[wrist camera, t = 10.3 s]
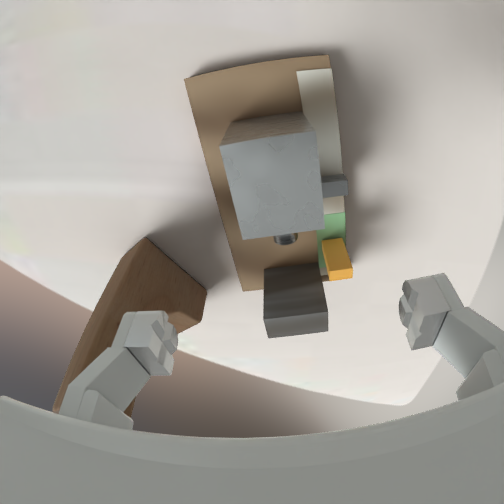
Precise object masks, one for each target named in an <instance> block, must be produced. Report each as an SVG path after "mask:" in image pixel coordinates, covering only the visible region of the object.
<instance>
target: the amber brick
mask: <svg viewBox="0 0 504 504" xmlns="http://www.w3.org/2000/svg"><path fill="white" fill-rule="evenodd" d="M322 251H323V255H324V259H325V263H326V267H327V272H328V276H329V280H330V281H335V280H342V279H349V278H352V275H353V267H352V264H351V262H350V259H349V256H348V253H347V250H346V247H345V244H344V242H343V239H342V238H337V239H329V240H322Z"/></svg>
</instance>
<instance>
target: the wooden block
mask: <svg viewBox="0 0 504 504" xmlns="http://www.w3.org/2000/svg"><path fill="white" fill-rule="evenodd" d="M206 295H207V291H206V289H205V288H203V287H202V286H201V285H200V284H199V283H197V282H196V281H195V280H194V279H193V278H192V277H190V276H189V275H188V274H187V273H186V272H185V271H183V270H182V269H181V268H180V267H179V266H178V265H177V264H175V263H174V262H173V261H172V260H171V259H170V258H169V257H167V256H166V255H165V254H164V253H163V252H162V251H161V250H160V249H158V248H157V247H156V246H155V245H154V244H153V243H152V242H151V241H150V240H148V239H147V238H144V239H142V240H141V241H140V242H138V243H137V244H136V245H135V246H134V247H133V248H132V249H131V250H130V251H128V252H127V253H126V254H125V255H124V256H123V257H122V258H121V260H120V262H119V264H118V265H117V267H116V269H115V271H114V273H113V275H112V277H111V278H110V280H109V282H108V284H107V286H106V288H105V290H104V292H103V294H102V296H101V298H100V299H99V301H98V303H97V305H96V307H95V309H94V311H93V313H92V316H91V318H90V320H89V322H88V324H87V326H86V328H85V330H84V332H83V335H82V337H81V339H80V341H79V343H78V346H77V348H76V350H75V352H74V355H73V357H72V359H71V362H70V364H69V366H68V369H67V371H66V374H65V376H64V379H63V381H62V384H61V386H60V389H59V392H58V394H57V397H56V400H55V402H54V405H53V412H54V413H57V414H59V411H60V408H61V405H62V402H63V399H64V396H65V393H66V390H67V388H68V385H69V384H70V383H71V382H72V381H73V380H74V379H75V378H76V377H77V376H78V375H79V374H80V373H82V372H83V371H84V370H85V369H86V368H87V367H88V366H89V365H90V364H91V363H92V362H93V361H94V360H95V359H96V358H97V357H98V356H99V355H100V354H101V353H103V352H104V351H105V350H106V349H107V348H108V347H111V346H112V344H113V341H114V338H115V336H116V333H117V330H118V328H119V325H120V323H121V320H122V318H123V315H124V314H125V313H126V312H138V311H165V312H166V314H167V315H168V317H169V318H168V322H169V323H171V324H172V325H174V327H175V329H176V331H177V334H178V333H180V332H182V331H184V330H186V329H188V328H190V327H192V326H194V325H196V324H198V323H200V322H201V320H202V316H203V310H204V305H205V300H206ZM135 398H136V396H135ZM135 398H134V399H133V400H132V402H131V403H130V404H129V406H128V407H127V408H126V409H125V411H124V412H123V413H125V414H126V415H127V416H129V417H130V418H131V414H132V410H133V406H134V402H135Z"/></svg>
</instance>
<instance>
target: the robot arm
mask: <svg viewBox="0 0 504 504" xmlns="http://www.w3.org/2000/svg"><path fill="white" fill-rule="evenodd" d="M402 290H403V292H404V295H403V296H402V297H401V298H400V301H399V315H400V319H401V322H402V325H404V326H405V327H406V328H408V330H407V333H406V336H407V339H408V342H409V345H410V348H411V350H416V349H420V348H425V347H429V346H433V348H434V349H435V350H436V351H438V352H439V353H440V354H441V355H442V356H443V357H444V358H445V359H446V360H447V361H448V362H449V363H450V364H451V365H452V366H453V367H454V368H455V369H456V370H457V371H458V372H459V373H460V374H461V375H462V376H463V377H464V378H465V380H464V381H463V383H462V384H461V385H460V387H459V388H458V389H457V391H456V393H457V397H458V400H459V401H456V402H453V403H450V404H448V405H444V406H442V407H438V408H435V409H432V410H429V411H425V412H422V413H418V414H415V415H411V416H407V417H403V418H400V419H395V420H391V421H387V422H383V423H377V424H373V425H368V426H362V427H357V428H351V429H345V430H339V431H332V432H324V433H316V434H307V435H298V436H297V435H296V436H283V437H267V438H266V437H264V438H209V437H189V436H177V435H166V434H157V433H149V432H142V431H135V430H132V427H133V420H132V419H131V418H130V417H129V416H127V415H126V414H125V413H123V412H124V411H125V409H126V408H127V407H128V406H129V404H130V403H131V402H132V400H133V399H134V398H135V396H136V395H137V394H138V393H139V391H140V390H141V389H142V387H143V386H144V385H145V384H146V382H147V381H148V380H149V378H150V377H151V375H153V376H167V375H168V376H169V375H171V373H172V368H173V364H174V359H173V357H172V354H173V353H174V352H175V351H176V350H177V345H178V335H177V331H176V329H175V327H174V325H172V324H171V323H169V322H168V318H169V317H168V315H167V314H166V312H165V311H138V312H126V313H125V314H124V315H123V318H122V320H121V323H120V325H119V328H118V330H117V333H116V336H115V338H114V341H113V344H112V346H111V347H108V348H107V349H106V350H105V351H104V352H103V353H101V354H100V355H99V356H98V357H97V358H96V359H95V360H94V361H93V362H92V363H91V364H90V365H89V366H88V367H87V368H86V369H85V370H84V371H83V372H82V373H80V374H79V375H78V376H77V377H76V378H75V379H74V380H73V381H72V382H71V383H70V384H69V385H68V388H67V390H66V393H65V396H64V399H63V402H62V405H61V408H60V411H59V414H57V413H53V412H50V411H46V410H43V409H40V408H37V407H34V406H31V405H28V404H25V403H22V402H19V401H17V400H14V399H12V398H9V397H6V396H0V504H504V331H502V330H501V329H500V328H498V327H497V326H495V325H494V324H493V323H491V322H490V321H488V320H487V319H485V318H484V317H482V316H481V315H479V314H478V313H476V312H475V311H473V310H472V309H470V308H469V307H464V306H463V304H462V302H461V300H460V298H459V297H458V295H457V293H456V291H455V289H454V288H453V286H452V284H451V282H450V281H449V279H448V277H447V276H446V275H445V274H444V273H442V274H437V275H432V276H426V277H421V278H416V279H411V280H405V282H404V283H403V287H402Z"/></svg>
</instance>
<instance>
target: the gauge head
mask: <svg viewBox="0 0 504 504" xmlns="http://www.w3.org/2000/svg"><path fill="white" fill-rule="evenodd" d="M219 148H220V152H221V156H222V160H223V164H224V168H225V172H226V176H227V180H228V184H229V188H230V192H231V196H232V199H233V203H234V207H235V211H236V215H237V219H238V223H239V227H240V231H241V235H242V239H243V240H247V239H254V238H261V237H269V236H273V239H274V242H275V243H276V244H278V245H290V244H292V243H294V242H296V241H297V239H298V232H305V231H313V230H321V229H325V222H324V208H323V198H328V197H336V196H345V195H348V180H347V178H346V177H345V175H344V174H337V175H329V176H321V174H320V164H319V155H318V146H317V138H316V131H315V129H314V128H313V127H312V125H311V124H310V122H309V121H308V119H307V118H306V117H305V115H304V114H303V112H302V111H298V112H290V113H283V114H276V115H269V116H263V117H257V118H251V119H245V120H240V121H235V122H231V123H230V125H229V127H228V129H227V131H226V133H225V135H224V137H223V139H222V141H221V143H220V145H219Z"/></svg>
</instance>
